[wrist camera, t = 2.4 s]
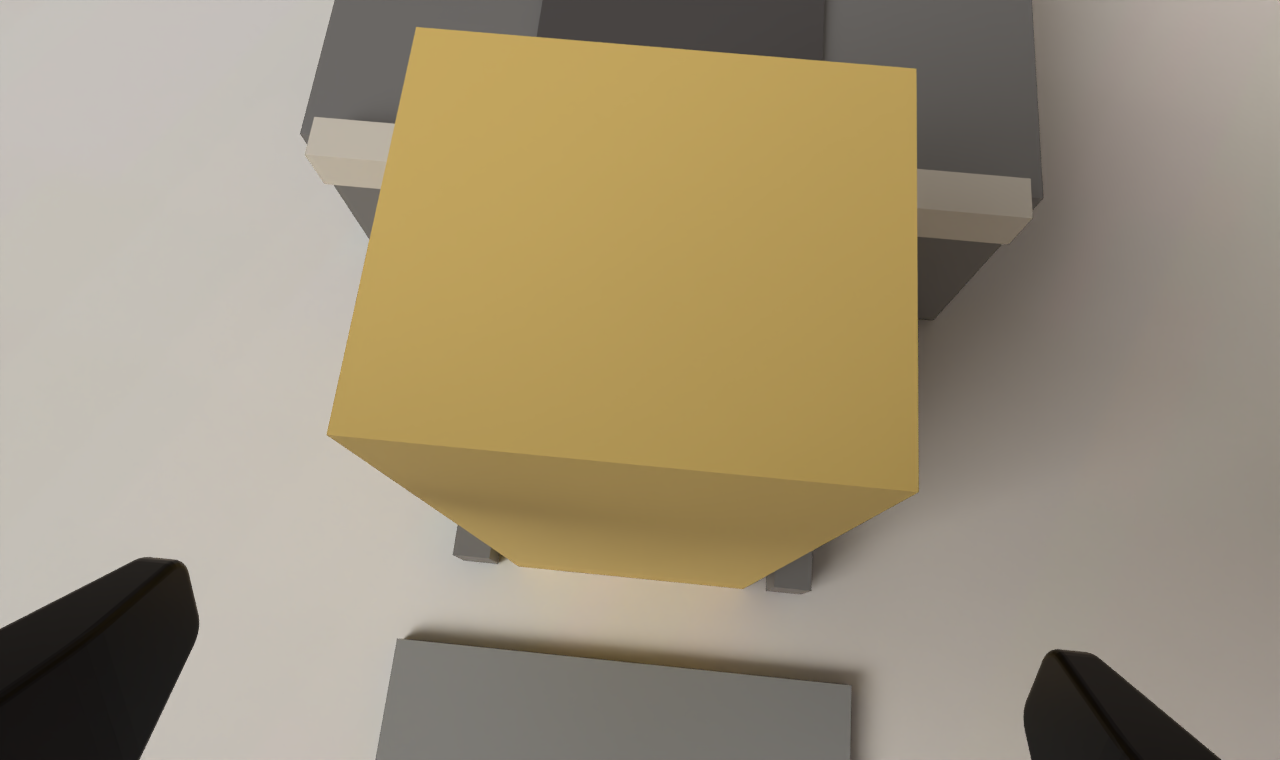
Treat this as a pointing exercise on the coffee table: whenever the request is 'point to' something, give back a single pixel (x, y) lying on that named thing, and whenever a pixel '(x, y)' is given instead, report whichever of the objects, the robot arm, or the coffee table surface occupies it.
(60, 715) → the robot arm
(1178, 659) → the coffee table surface
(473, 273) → the mustard yellow box
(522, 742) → the mat
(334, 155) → the grey boxy piece
